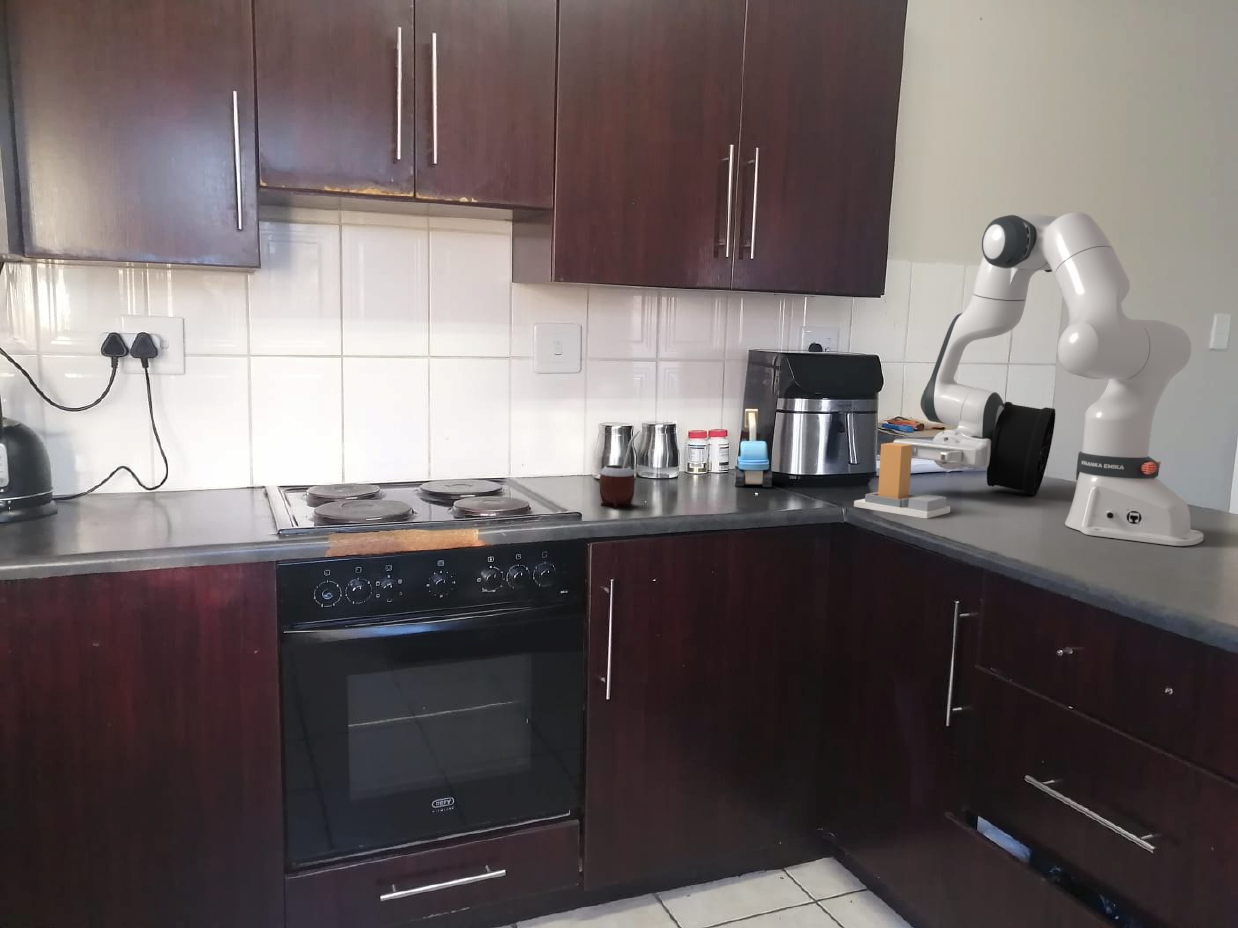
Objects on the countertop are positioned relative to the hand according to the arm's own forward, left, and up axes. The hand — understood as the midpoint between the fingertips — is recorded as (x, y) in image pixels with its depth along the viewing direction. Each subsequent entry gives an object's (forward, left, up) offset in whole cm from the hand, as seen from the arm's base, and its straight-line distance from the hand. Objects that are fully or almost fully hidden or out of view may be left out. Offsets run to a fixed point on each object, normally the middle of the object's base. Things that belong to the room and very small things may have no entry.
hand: (922, 454), depth 198 cm
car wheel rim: (-8, -29, -10) cm, 32 cm away
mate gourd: (+37, +55, -10) cm, 67 cm away
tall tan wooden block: (0, +12, -9) cm, 15 cm away
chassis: (-2, +12, -10) cm, 16 cm away
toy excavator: (+38, +9, -11) cm, 40 cm away
